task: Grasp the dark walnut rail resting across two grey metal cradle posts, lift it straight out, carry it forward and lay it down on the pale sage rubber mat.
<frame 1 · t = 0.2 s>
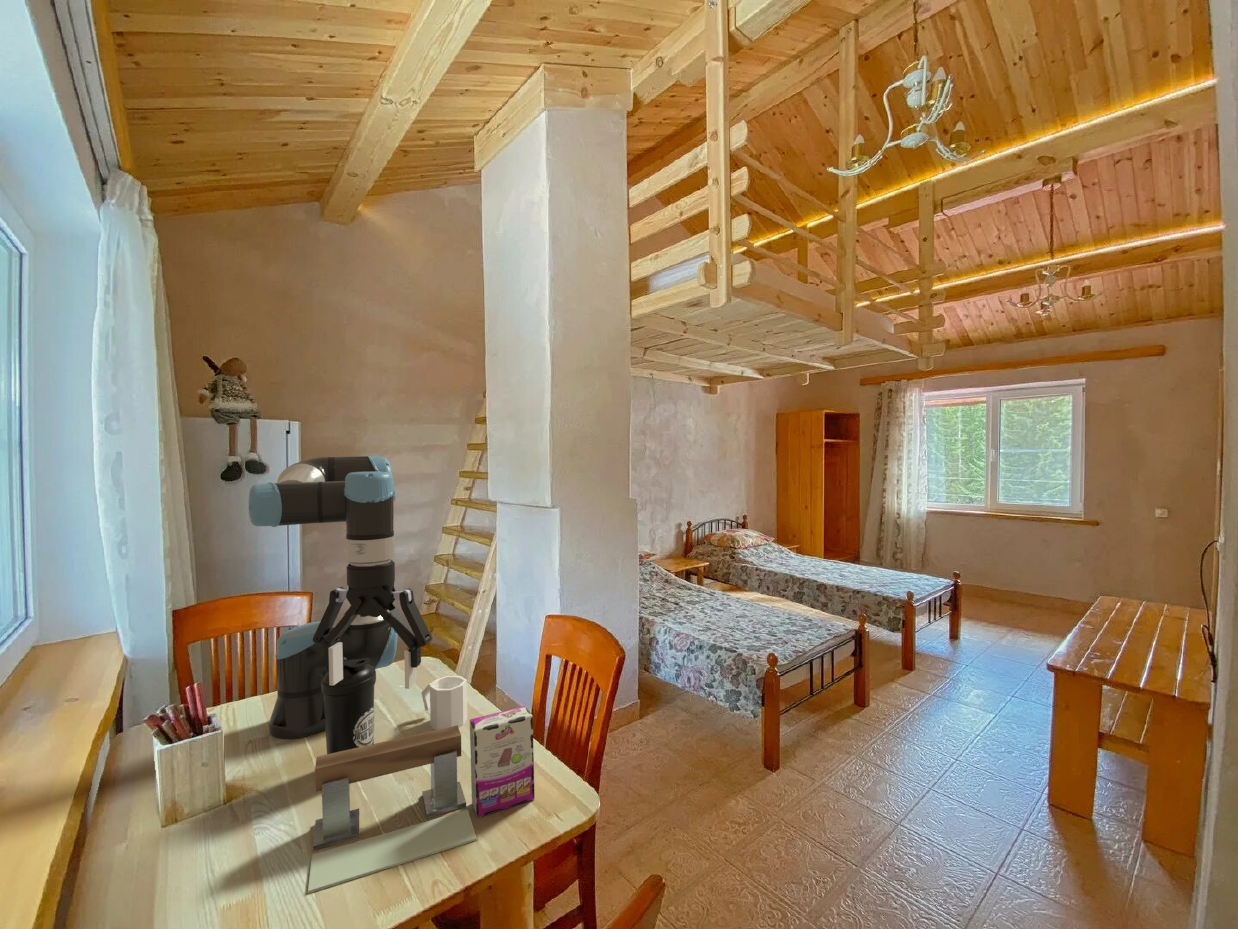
hand: (373, 683, 93), 26 cm above the table, fingers open, 13 cm apart
candy bar box: (502, 802, 102), on the table
rail: (391, 767, 98), point 9 cm above the table, touching post 2, post 1
mat: (395, 848, 90), on the table
post 1: (337, 831, 94), on the table
mug: (442, 722, 132), on the table
post 2: (444, 801, 102), on the table
water bottle: (351, 770, 112), on the table
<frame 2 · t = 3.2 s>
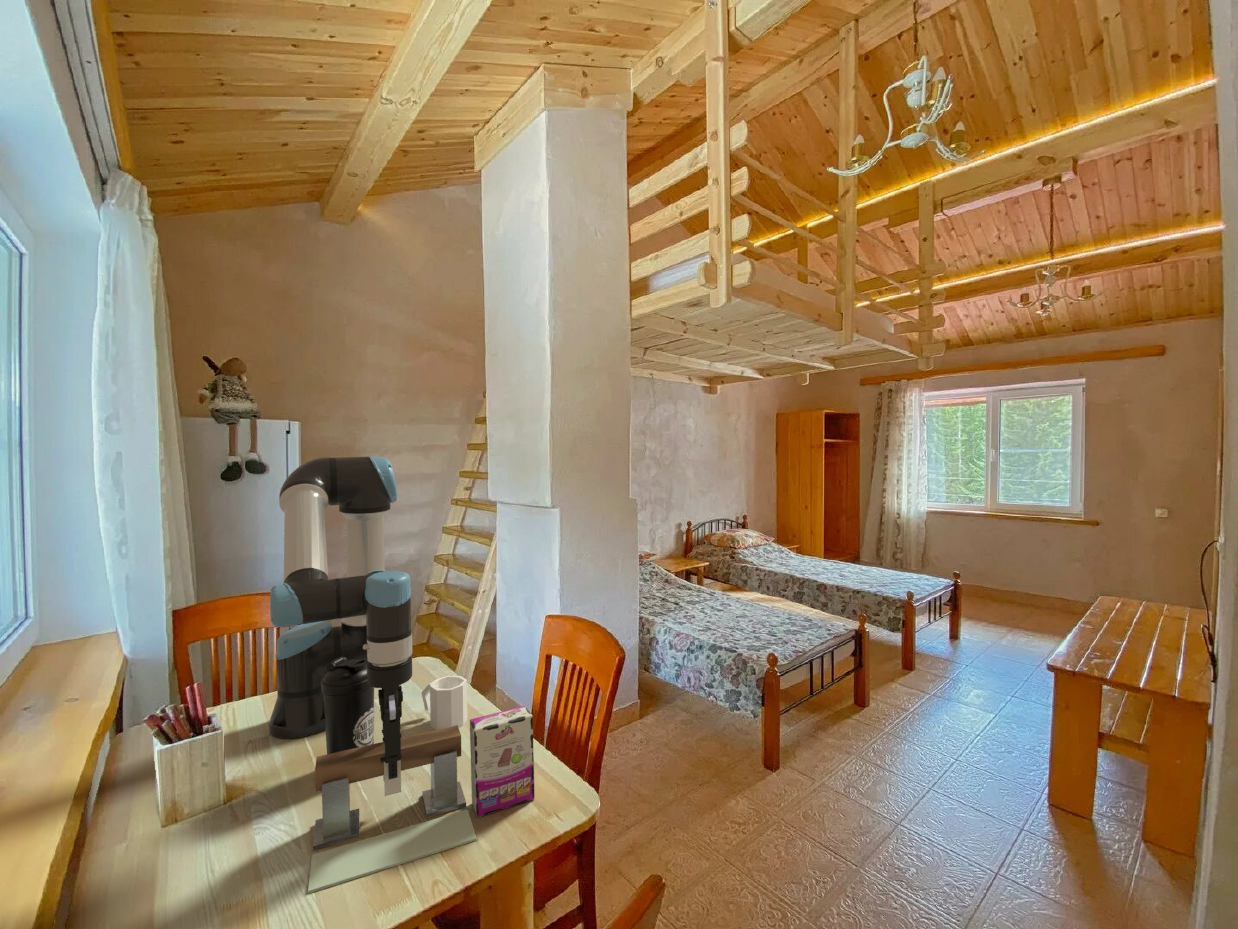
hand: (392, 785, 98), 6 cm above the table, fingers closed on rail, 4 cm apart
rail: (391, 767, 98), point 9 cm above the table, touching gripper, post 2, post 1
everything else where it was.
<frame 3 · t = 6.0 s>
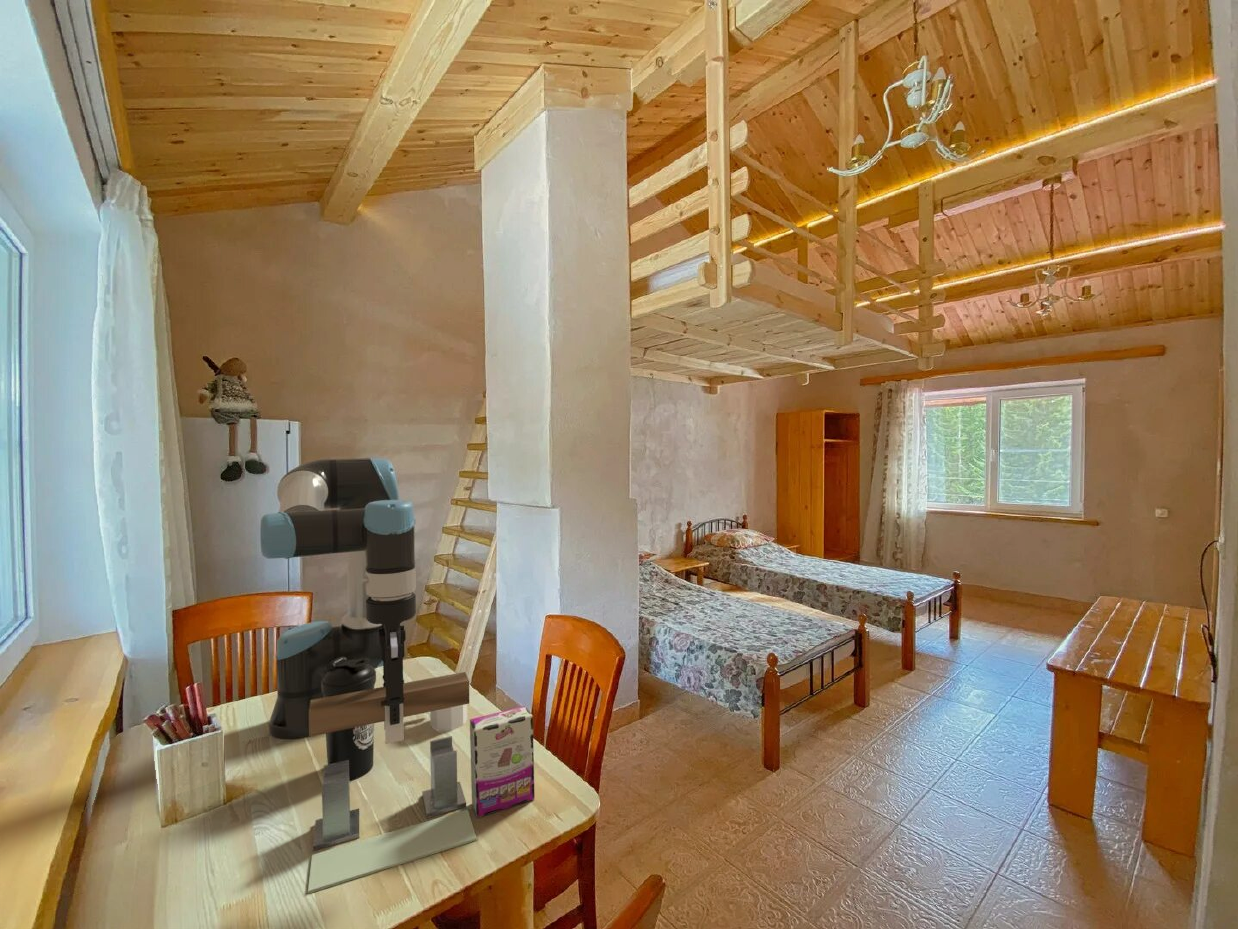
hand: (393, 733, 90), 20 cm above the table, fingers closed on rail, 4 cm apart
rail: (393, 713, 89), point 23 cm above the table, touching gripper
everything else where it was.
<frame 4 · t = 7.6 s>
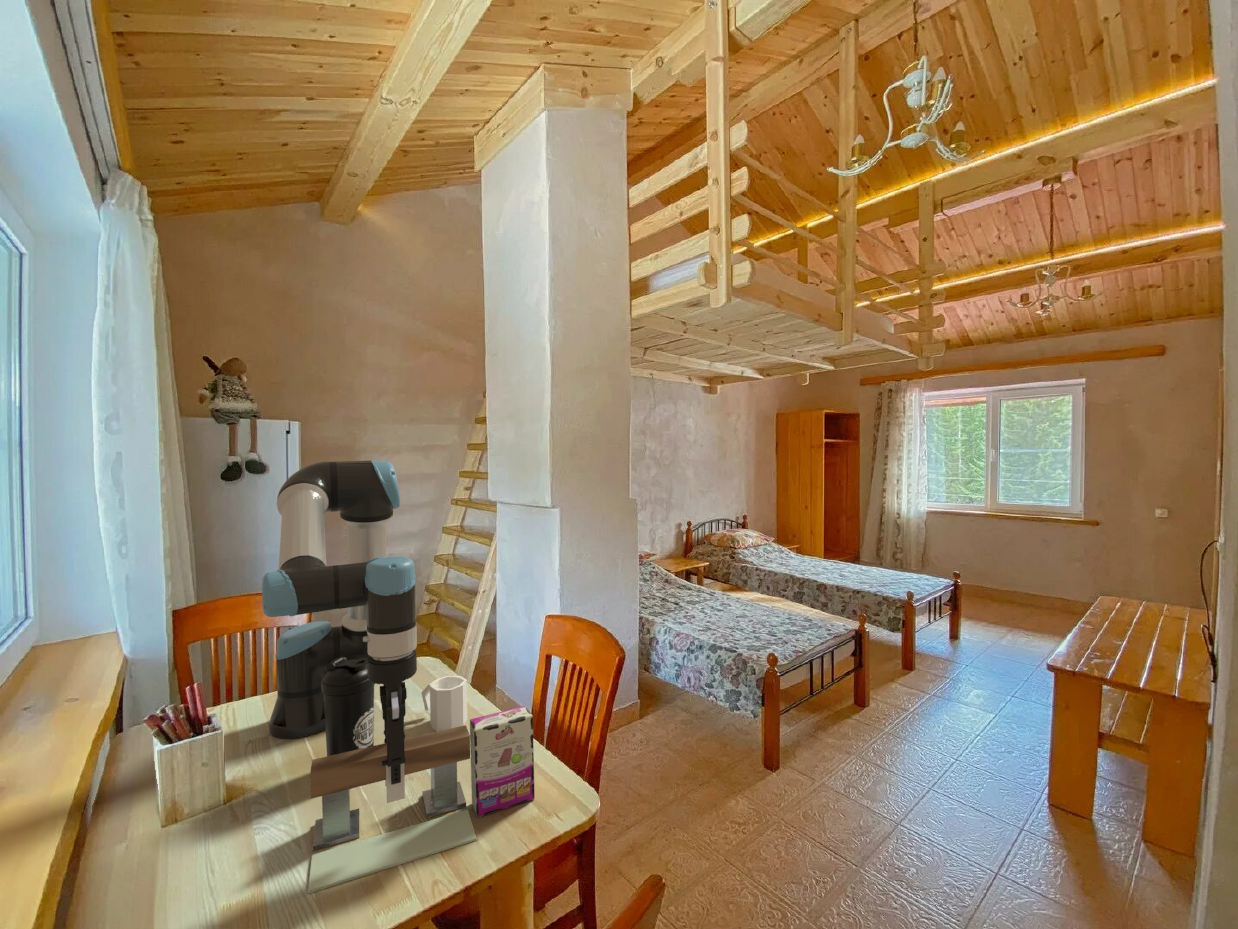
hand: (394, 790, 90), 10 cm above the table, fingers closed on rail, 4 cm apart
rail: (394, 771, 90), point 13 cm above the table, touching gripper
everything else where it was.
when the fingers open (1 cm above the table, at t = 9.1 s): rail stays where it is, point 4 cm above the table.
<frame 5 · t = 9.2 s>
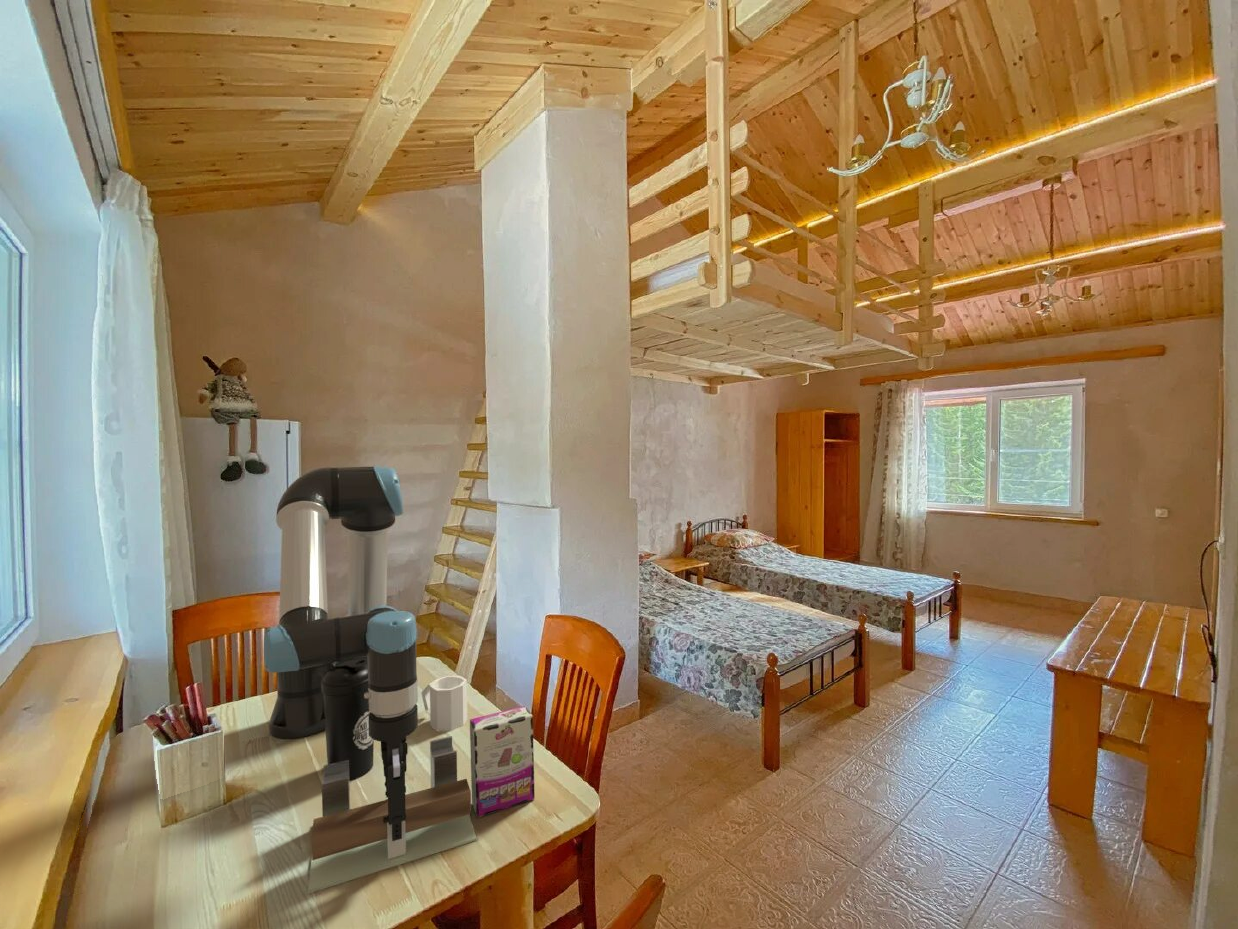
hand: (395, 844, 90), 1 cm above the table, fingers open, 4 cm apart
rail: (395, 828, 90), point 4 cm above the table
everything else where it was.
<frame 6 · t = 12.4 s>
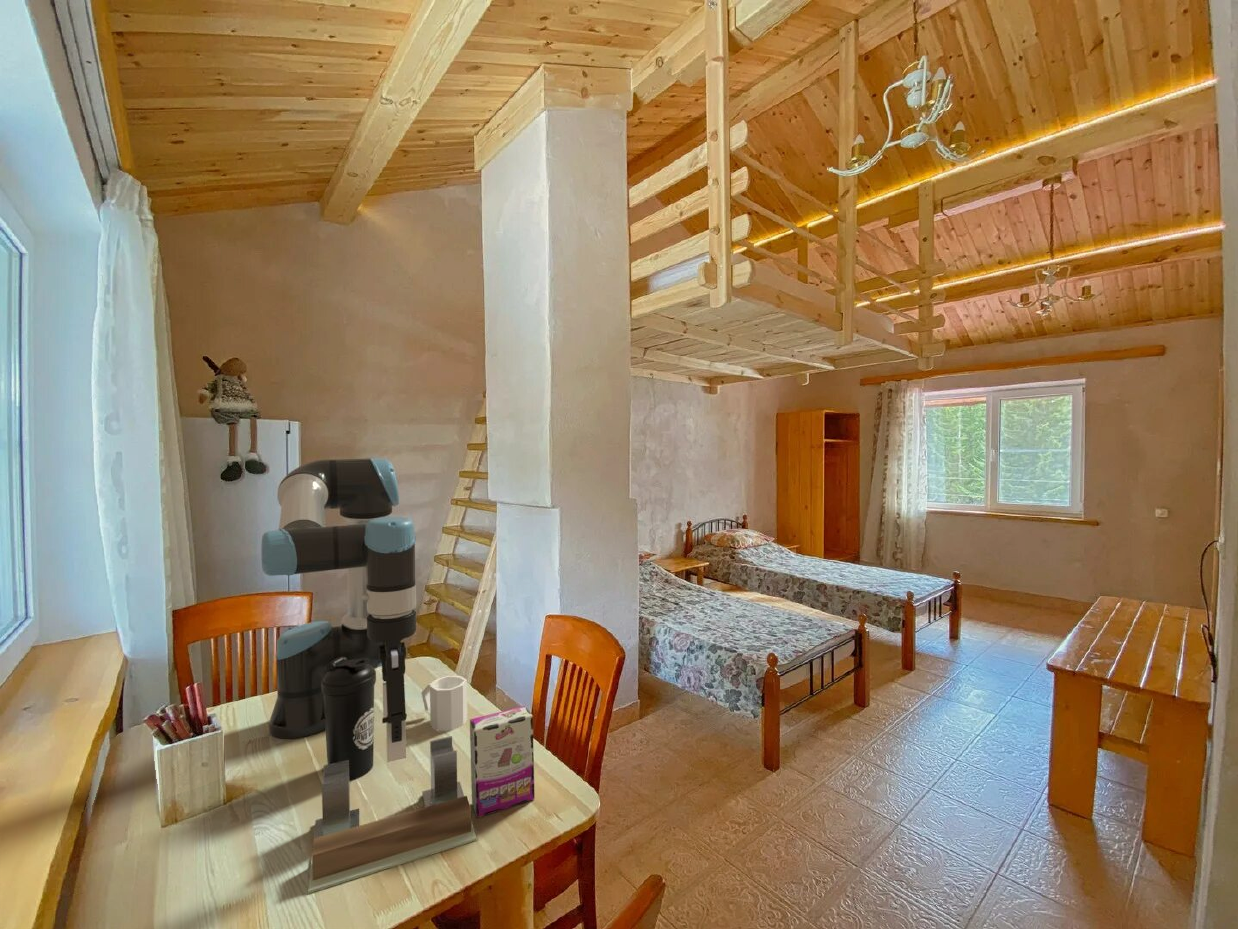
hand: (393, 737, 90), 19 cm above the table, fingers open, 13 cm apart
rail: (395, 846, 90), resting on mat
everything else where it was.
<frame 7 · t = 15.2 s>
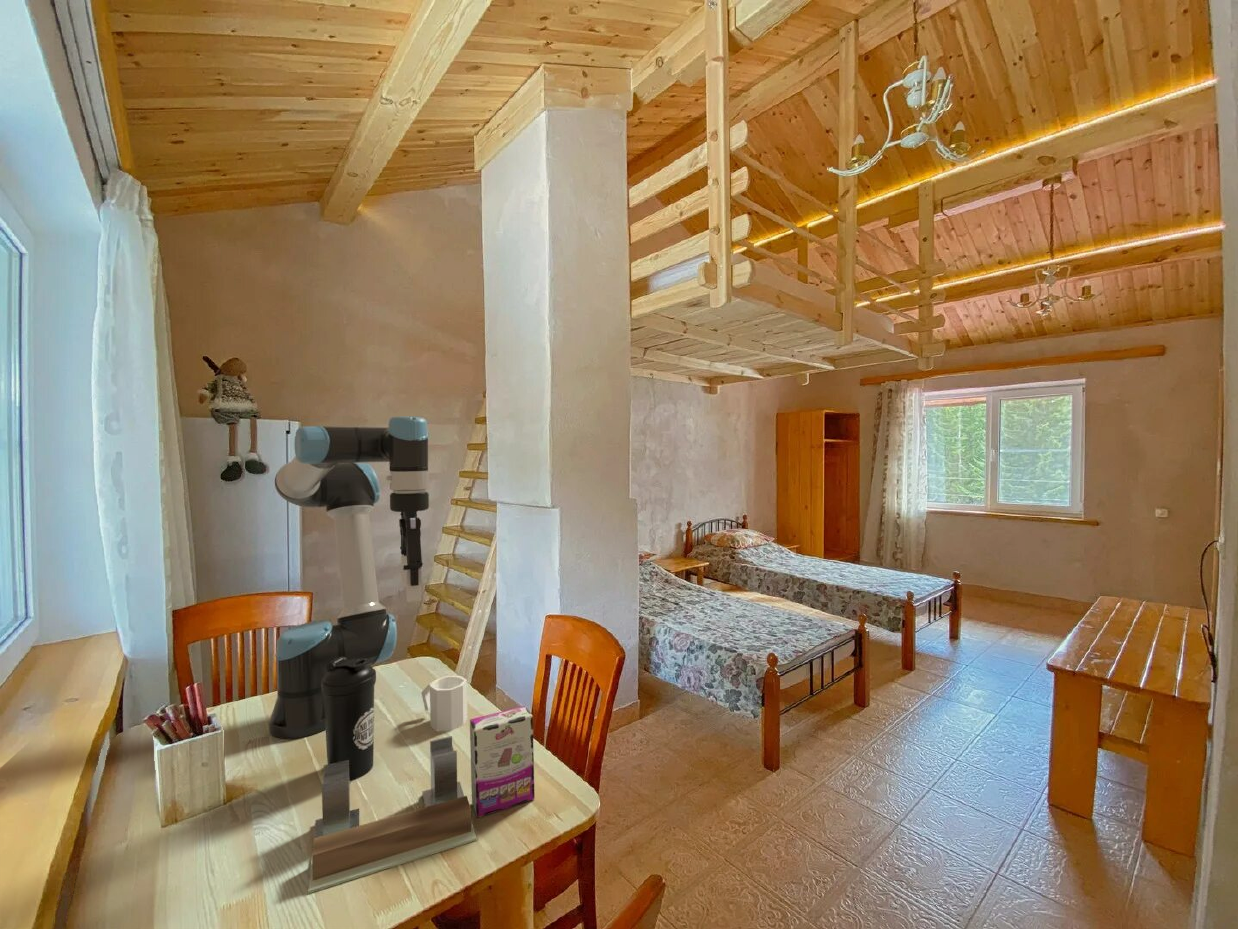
hand: (411, 592, 113), 37 cm above the table, fingers open, 13 cm apart
nothing on the table moved.
at the end: rail inside the target area on the mat (0.1 cm from its centre), point 0.4 cm above the mat's base; rail resting on mat; the gripper is holding nothing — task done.
